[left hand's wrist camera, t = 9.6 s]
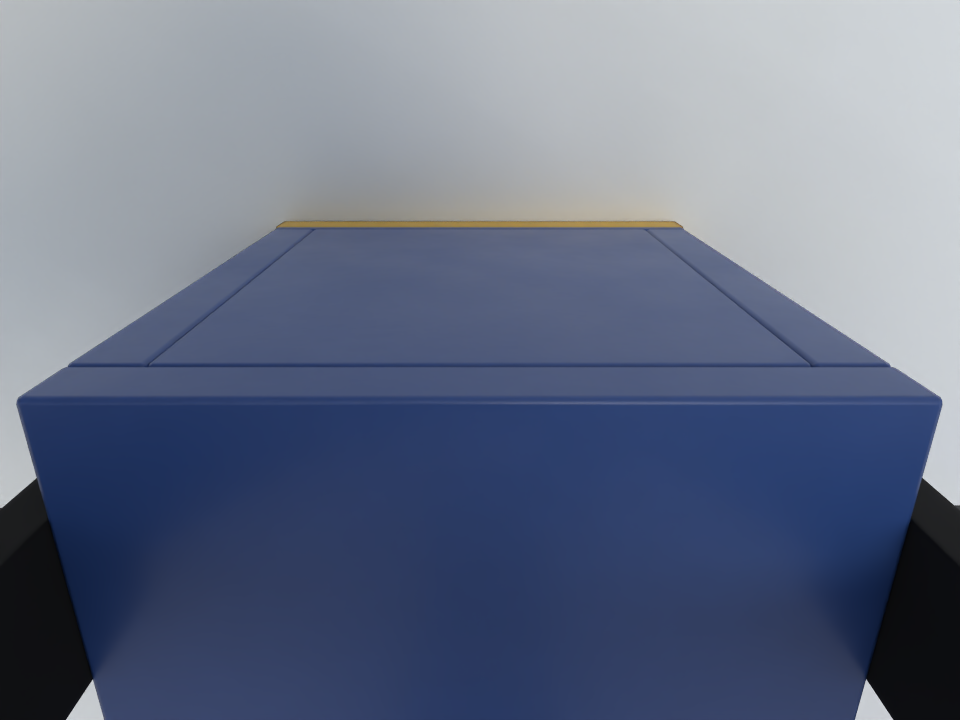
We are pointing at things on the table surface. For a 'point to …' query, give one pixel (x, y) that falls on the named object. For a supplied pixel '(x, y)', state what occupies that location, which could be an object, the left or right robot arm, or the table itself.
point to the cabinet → (479, 483)
